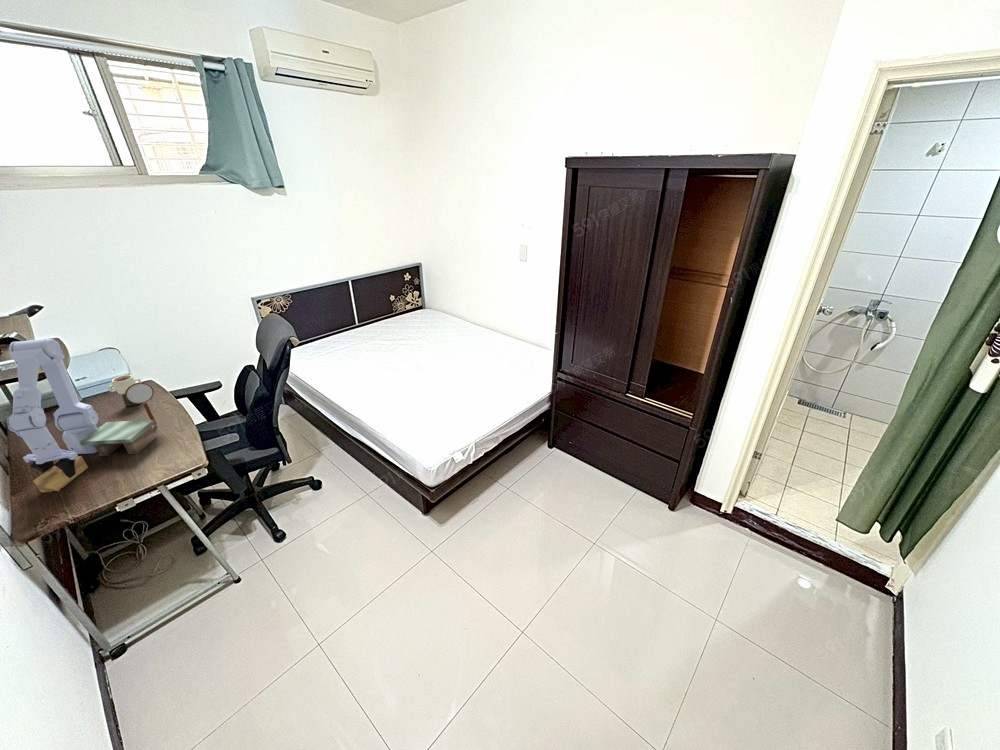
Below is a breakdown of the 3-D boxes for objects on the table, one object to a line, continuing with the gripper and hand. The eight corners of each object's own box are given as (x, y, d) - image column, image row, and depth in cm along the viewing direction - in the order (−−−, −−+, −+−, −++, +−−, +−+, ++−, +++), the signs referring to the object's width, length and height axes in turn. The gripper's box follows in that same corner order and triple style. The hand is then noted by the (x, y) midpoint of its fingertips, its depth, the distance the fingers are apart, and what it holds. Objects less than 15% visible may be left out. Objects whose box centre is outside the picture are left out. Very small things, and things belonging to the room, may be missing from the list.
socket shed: (89, 459, 144) (79, 441, 141) (116, 438, 155) (106, 422, 152) (139, 456, 146) (129, 439, 142) (161, 436, 157) (153, 419, 153)
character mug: (148, 396, 185) (137, 371, 179) (150, 402, 180) (138, 376, 174) (118, 405, 178) (105, 379, 172) (119, 411, 174) (105, 385, 168)
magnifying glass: (143, 431, 160) (121, 388, 150) (142, 430, 161) (120, 387, 151) (168, 421, 166) (149, 380, 157) (167, 420, 167) (147, 378, 158)
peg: (41, 492, 130) (33, 480, 127) (73, 468, 140) (66, 456, 138) (57, 491, 130) (49, 479, 128) (88, 467, 141) (81, 456, 138)
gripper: (5, 452, 124) (29, 485, 130) (55, 450, 125) (76, 482, 132) (27, 439, 130) (49, 471, 137) (74, 437, 131) (93, 468, 138)
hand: (63, 476), depth 135 cm, fingers closed on peg, 5 cm apart
